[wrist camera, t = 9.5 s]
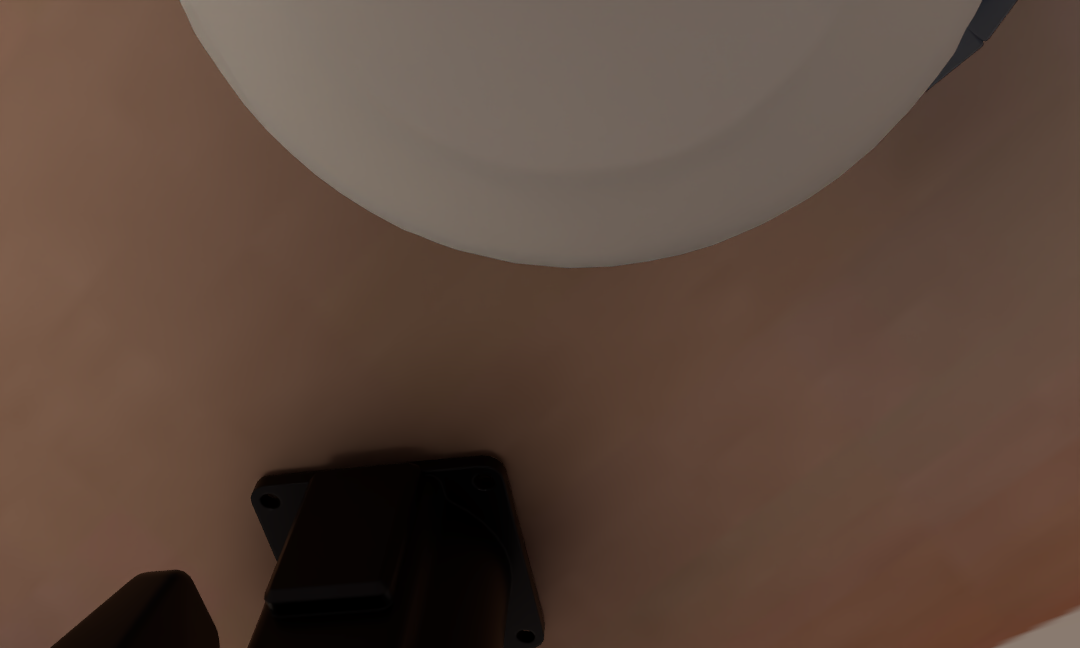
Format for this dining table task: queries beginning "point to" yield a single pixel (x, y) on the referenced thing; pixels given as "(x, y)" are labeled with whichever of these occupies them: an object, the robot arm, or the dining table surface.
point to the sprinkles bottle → (579, 109)
